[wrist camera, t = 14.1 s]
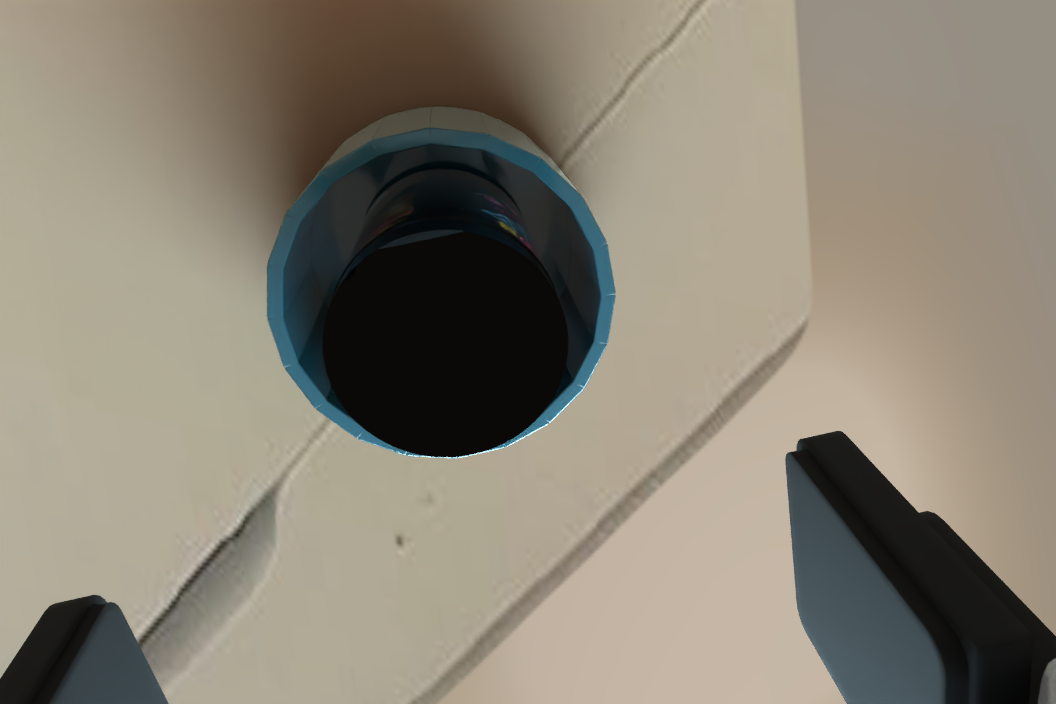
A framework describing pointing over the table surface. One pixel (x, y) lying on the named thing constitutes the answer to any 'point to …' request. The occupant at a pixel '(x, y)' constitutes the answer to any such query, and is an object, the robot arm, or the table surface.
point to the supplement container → (444, 319)
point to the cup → (381, 160)
